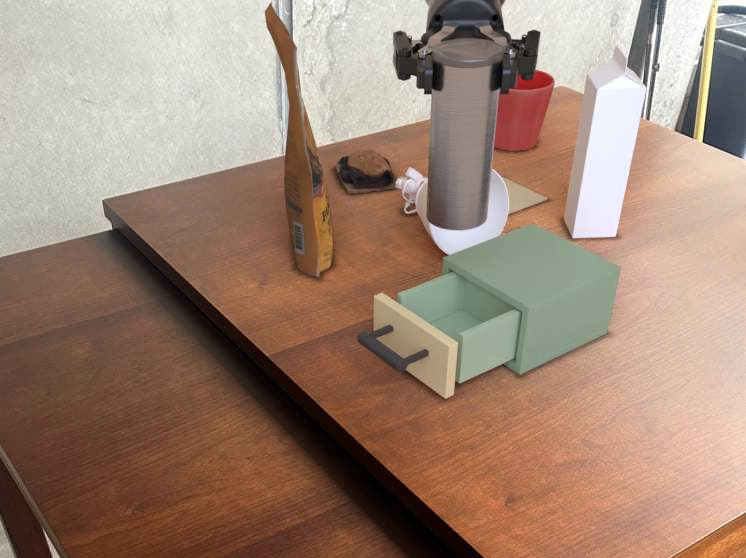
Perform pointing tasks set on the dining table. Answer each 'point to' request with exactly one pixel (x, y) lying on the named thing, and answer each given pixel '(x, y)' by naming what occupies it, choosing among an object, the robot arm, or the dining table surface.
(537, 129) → the flower pot
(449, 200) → the silver tall cylinder
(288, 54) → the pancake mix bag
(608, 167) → the milk
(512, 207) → the mat
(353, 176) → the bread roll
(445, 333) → the drawer
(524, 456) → the dining table surface
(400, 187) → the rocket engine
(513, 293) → the cabinet
